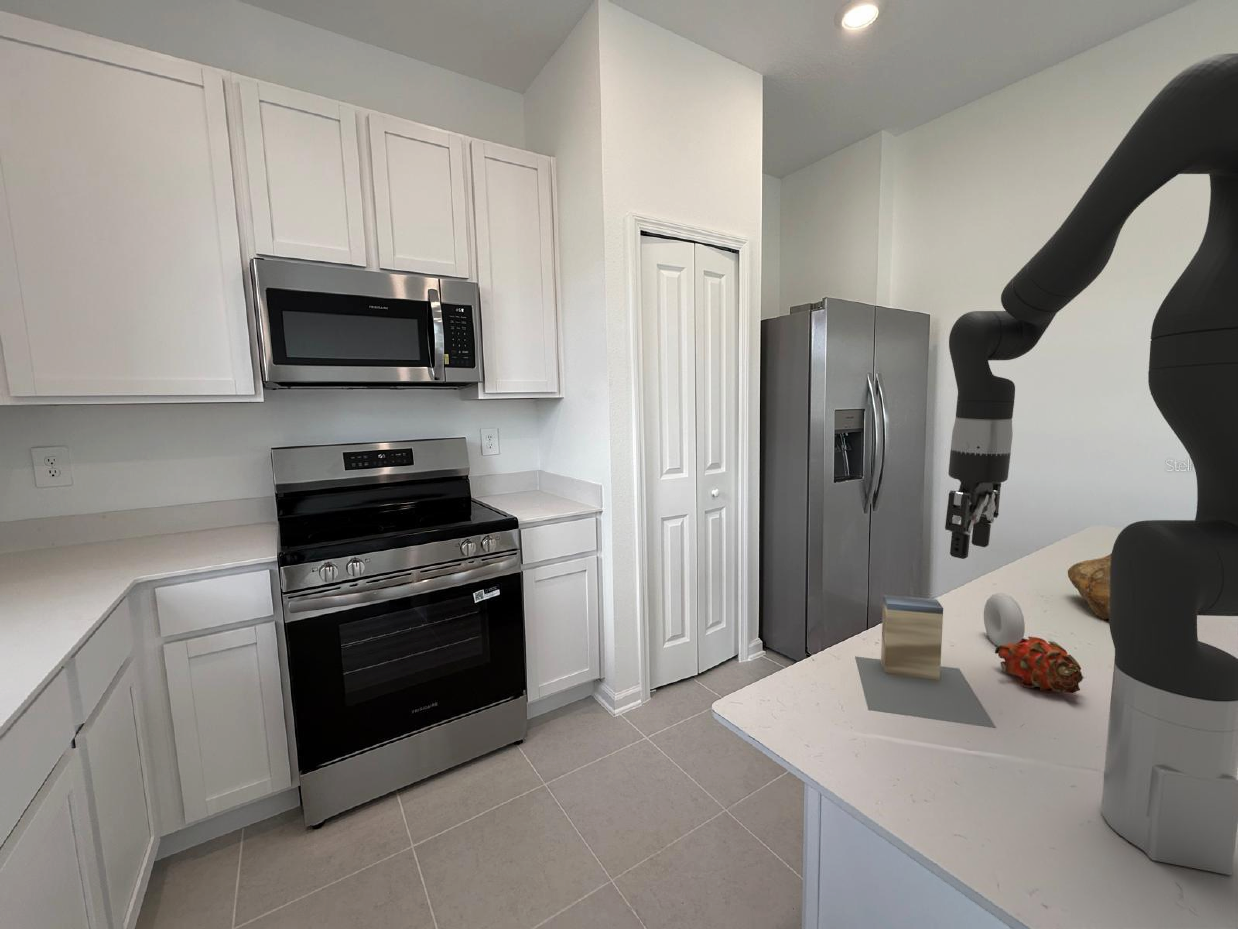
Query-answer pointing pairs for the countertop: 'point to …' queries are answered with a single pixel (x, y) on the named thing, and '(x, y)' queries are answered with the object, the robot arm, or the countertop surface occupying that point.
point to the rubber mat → (922, 694)
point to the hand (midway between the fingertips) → (969, 551)
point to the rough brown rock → (1093, 583)
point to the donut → (1003, 620)
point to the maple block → (911, 636)
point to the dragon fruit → (1041, 665)
